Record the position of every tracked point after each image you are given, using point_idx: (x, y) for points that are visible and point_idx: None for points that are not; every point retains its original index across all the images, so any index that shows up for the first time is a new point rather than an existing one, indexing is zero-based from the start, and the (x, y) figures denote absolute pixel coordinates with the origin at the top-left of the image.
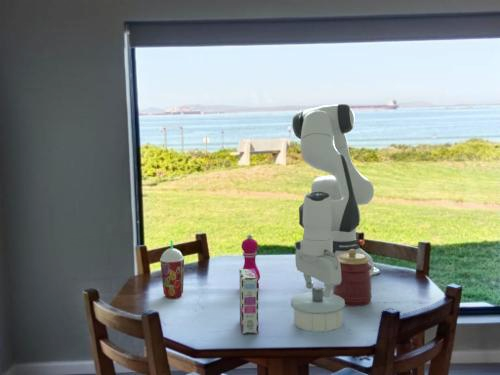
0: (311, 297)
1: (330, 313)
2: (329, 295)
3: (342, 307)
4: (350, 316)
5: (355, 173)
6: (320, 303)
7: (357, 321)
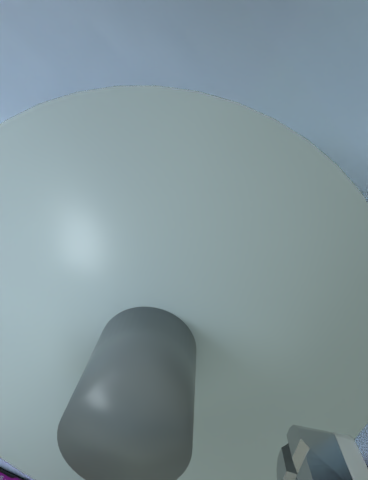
0: (48, 331)
1: None
2: (352, 454)
3: None
4: (235, 8)
5: None
6: (219, 378)
7: (337, 49)
